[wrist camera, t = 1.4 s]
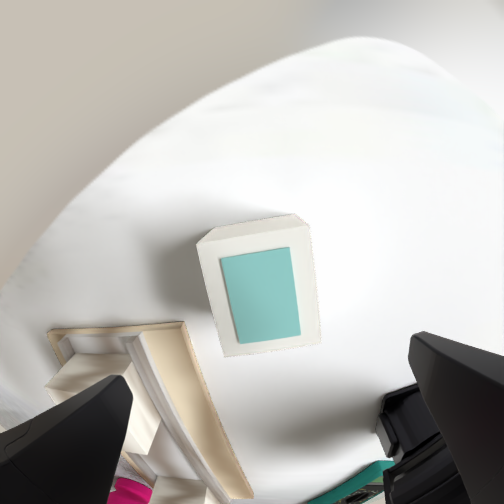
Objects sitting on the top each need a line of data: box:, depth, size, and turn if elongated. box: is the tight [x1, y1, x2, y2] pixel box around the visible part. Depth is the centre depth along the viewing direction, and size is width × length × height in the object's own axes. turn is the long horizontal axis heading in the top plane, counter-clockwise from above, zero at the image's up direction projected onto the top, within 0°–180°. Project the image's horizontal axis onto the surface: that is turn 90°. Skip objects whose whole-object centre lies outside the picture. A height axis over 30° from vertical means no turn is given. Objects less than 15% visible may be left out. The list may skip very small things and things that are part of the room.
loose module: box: [196, 214, 321, 357], centre depth 15 cm, size 5×6×5 cm
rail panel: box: [45, 322, 254, 504], centre depth 19 cm, size 14×28×7 cm, turn 10°
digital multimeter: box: [307, 461, 395, 504], centre depth 24 cm, size 7×15×3 cm, turn 149°
